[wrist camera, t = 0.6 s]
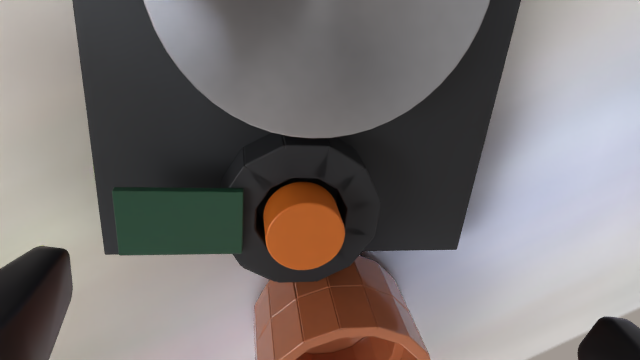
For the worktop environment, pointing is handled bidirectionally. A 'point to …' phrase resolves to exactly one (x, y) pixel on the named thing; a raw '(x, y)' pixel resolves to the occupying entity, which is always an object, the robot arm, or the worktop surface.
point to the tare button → (303, 226)
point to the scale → (286, 143)
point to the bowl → (337, 318)
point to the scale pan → (289, 89)
